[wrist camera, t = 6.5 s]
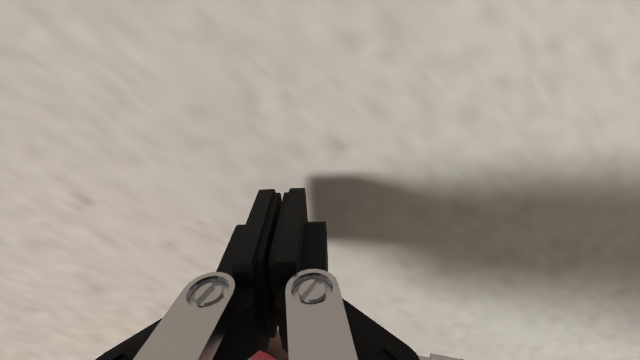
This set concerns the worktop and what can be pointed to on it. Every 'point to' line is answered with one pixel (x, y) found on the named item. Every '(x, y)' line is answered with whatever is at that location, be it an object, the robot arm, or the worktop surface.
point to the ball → (262, 356)
